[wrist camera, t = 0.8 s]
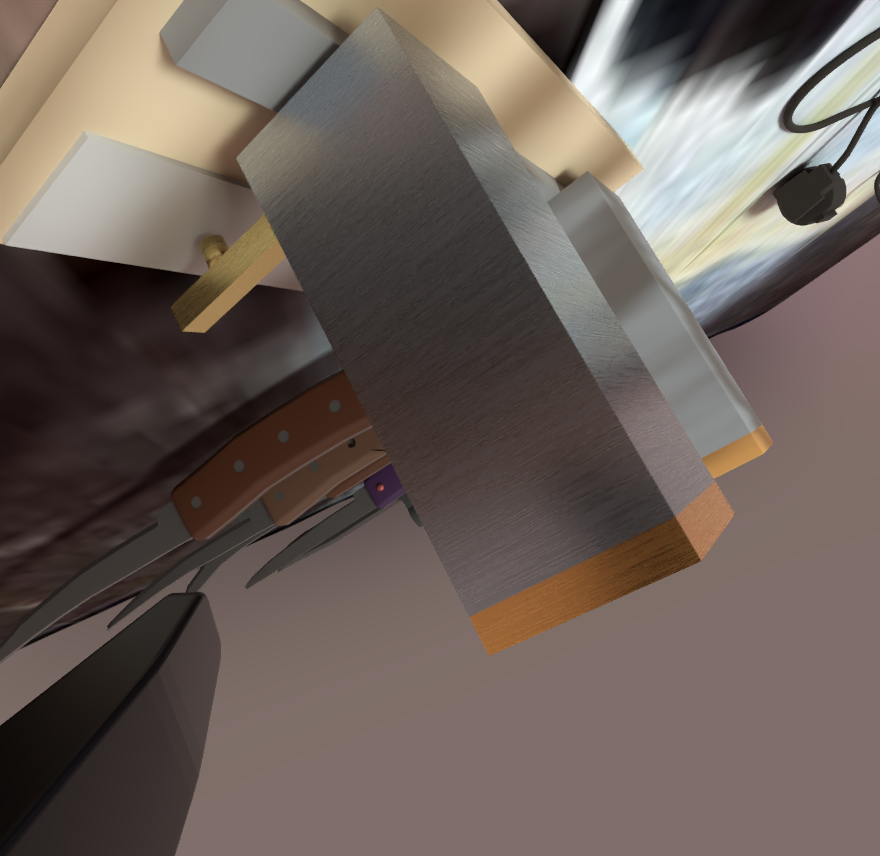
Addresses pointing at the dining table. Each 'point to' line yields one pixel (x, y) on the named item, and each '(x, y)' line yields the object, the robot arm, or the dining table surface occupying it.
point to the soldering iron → (822, 186)
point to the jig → (259, 100)
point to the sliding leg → (468, 338)
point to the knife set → (249, 501)
